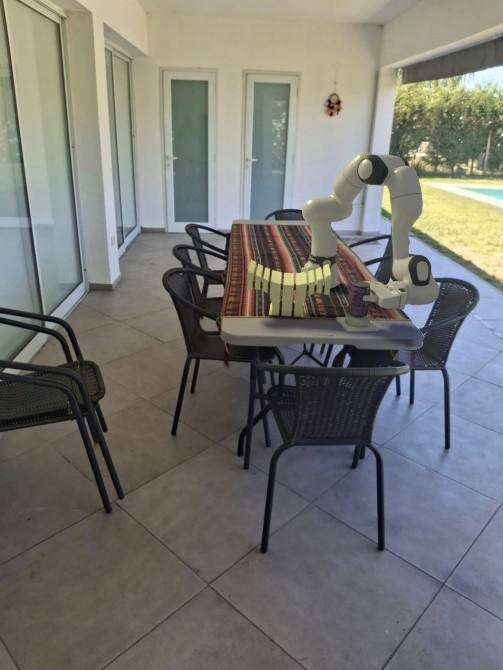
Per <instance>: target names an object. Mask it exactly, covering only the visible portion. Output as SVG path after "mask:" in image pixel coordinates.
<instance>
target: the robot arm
mask: <svg viewBox="0 0 503 670" xmlns="http://www.w3.org/2000/svg"><path fill="white" fill-rule="evenodd" d="M417 173H418V172H417V170H416V169H415V167H413V166H410V163H409V161H408V160H407V159H406V158H405V157H402V156H399V155H397V156H396V155H391V154H372V153H370V152H369V151H361V152H359V153H358V154H357V155H355V156H354V157H353V158H352V159H351V160H350V161H349V162H348V163H347V164H346V165H345V167H344V168H343V169H342V170H341V172H340V173H339V174H338V176H336V178H335V179H334V180H333V183H332V189H333V191H332V193H331V194H329V195H328V196H327V195H326V196H319V197H314V198H311V199H308V200H307V201H305V202H304V203H303V206H302V207H301V208H302V210H301V214H302V217H303V219H304V220H305V222H306V223H307V224H308V226H309V228H310V231H311V249H310V250H311V251H310V254H309V255H308V261H307V262H306V263H305V264H304V267H302V266H301V268H300V269H301V270H300V273H302V272H306V280H307V285H308V271H311V270H313V271H314V279H315V285H316V269H317V268H320V267H321V271H322V276H323V284H322V286H324V274H323V266H325V265H327V264H329V268H330V272H331V284H330V289H332V288H336V287H337V286H339V285H341V281H340V280H339V266H338V265H337V260H338V256H337V255H338V254H337V247H338V239H339V238H338V236H337V234H336V233H335V232H334V231H333V229H332V223H337V222H342V221H344V220H346V219H349V218H350V216H351V215H352V214H353V209H354V207H353V202H354V200H355V199H356V198H357V197H358V195H359V194H360V193H361V192H362V190H363V189H364V188H365V187H366V186H367V185H369V186H378V187H384V186H386V188H387V189H388V193H389V202H390V210H391V211H390V213H391V220H390V221H391V222H390V244H391V263H390V265H389V272H388V273H389V278H390V279H391V281H389V282H388V283H387V284H384V283H383V282H380V281H374V280H371V281H369V280H365V281H363V282H367V283H369V284H370V288H371V292H370V295H362V299H363V300H364V301H369V302H371V303H375V304H377V305H378V306H379V307H380V308H383V309H390V310H391V309H392V310H393V309H394V310H396V309H397V310H399V311H401V310H405V308H406V305H411V306H422V305H424V306H425V305H429V304H432V303H434V302H435V301H436V300H437V298H438V296H439V295H440V294H439V293H440V286H439V284H438V283H437V281H436V280H435V278H434V275H433V273H432V264H431V262H430V259H428V257H426V256H424V255H422V254H416V255H412V256H410V250H409V248H410V247H409V235H410V232H411V229H412V227H413V226H414V224H415V223H416V222H417V221H418V219H419V218H420V217H421V215H422V213H423V209H424V208H423V206H424V203H423V202H424V201H423V193H422V188H421V182H420V179H419V176H418V174H417Z"/></svg>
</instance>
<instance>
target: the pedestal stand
mask: <svg viewBox="0 0 503 670" xmlns="http://www.w3.org/2000/svg"><path fill="white" fill-rule="evenodd" d="M371 318H372V316H371V314H369V313H367V315H366V316H364V317H353V316H351V315H350V314H348V311H347V312H346V313H345V316H342V317H341V316H340V317H337V316H336V319H335V320H336V321H337V323H339V324H340V326H342V328H343V329H344V330H345V331H346V332H347V333H354V332H355V333H356V332H357V333H359V332H379V331H380V328H379V327H378V326H377V325H376V324H375V323H374V322H373V321H372V320H371Z"/></svg>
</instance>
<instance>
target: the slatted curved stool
mask: <svg viewBox="0 0 503 670" xmlns="http://www.w3.org/2000/svg"><path fill="white" fill-rule="evenodd" d="M263 271H264V272H263ZM270 274H271V278H270ZM323 274H324V286H322V284H323V276H322V271H321V267H320V268H317V269H316V285H315V279H314V271H313V270H311V271H308V285H307V280H306V272H296V273H294V272H293V273H292V272H291V273H289V272H284V273H282V271H278V270H274V269H272V271H271V269H270V268H269V267H265V268H264V265H262V264H260V263H258V264H257V262H256V261H255V260H253V259H250V262H249V266H248V271H247V281H246V282H247V286H246V287H247V288H246V291H253V289H254V290H256V291H257V290H258V291H260V290H262V291H263V292H264V293H266V294H268V292H269V299H270V301H271V303H270V304H269V305H270V306H269V313H268V316H280V315H281V317H292V315H293V318H304V303H305V301H306V299H307V298H306V297H307V296H311V295H314V294H315V293H316V294H322V293H323V294H324V295H327V296H330V294H331V293H330V292H331V288H330V284H331V272H330V268H329V264H327V265H325V266H323ZM282 275H283V277H282ZM294 275H295V277H294ZM254 278H255V279H254ZM282 278H283V282H282ZM294 278H295V279H294ZM294 280H295V282H294ZM269 281H270V282H269ZM269 290H270V291H269ZM281 291H282V297H281ZM294 291H295V294H294ZM307 294H308V295H307ZM294 295H295V296H294ZM281 298H282V299H281ZM293 299H294V300H293ZM280 310H281V314H280ZM292 311H293V312H292Z"/></svg>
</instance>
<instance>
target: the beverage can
mask: <svg viewBox="0 0 503 670" xmlns="http://www.w3.org/2000/svg"><path fill="white" fill-rule="evenodd" d="M370 292H371V288H370V284H369V283H367V282H363V281H362V280H355V281H353V282H352V284H351V286H350V291H349V299H348V307H347V312H348V314H350V315H351V316H353V317H364V316H366V315H367V313H368V311H369V306H370V305H369V304H370V301H364V300H363V299H362V295H370ZM368 314H369V313H368Z"/></svg>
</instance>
